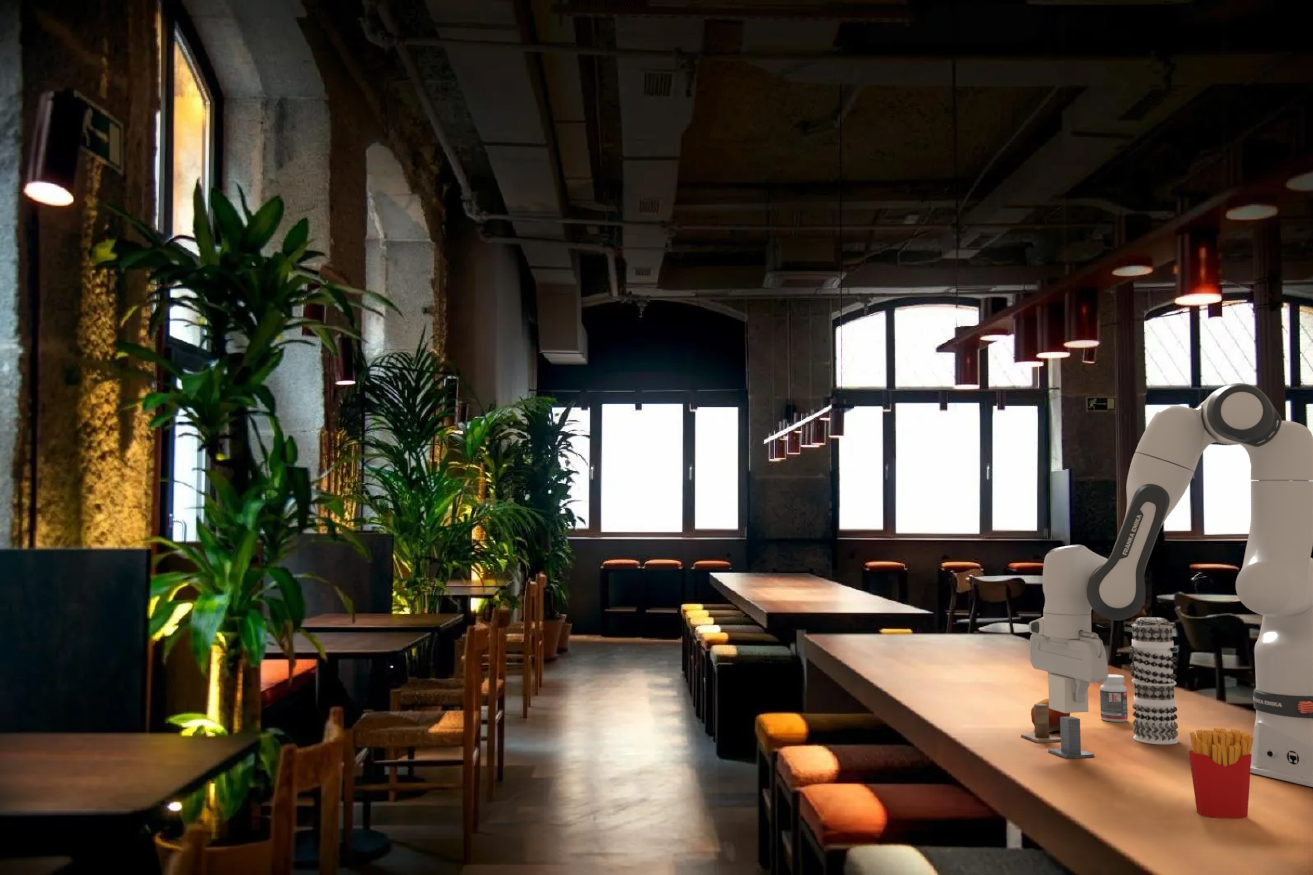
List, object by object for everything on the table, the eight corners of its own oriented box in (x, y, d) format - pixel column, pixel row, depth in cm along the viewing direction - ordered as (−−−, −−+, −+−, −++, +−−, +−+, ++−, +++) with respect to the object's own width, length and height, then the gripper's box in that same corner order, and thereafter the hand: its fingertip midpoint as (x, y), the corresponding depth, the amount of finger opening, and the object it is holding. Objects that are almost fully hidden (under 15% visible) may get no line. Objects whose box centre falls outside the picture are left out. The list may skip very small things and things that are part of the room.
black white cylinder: (1155, 734, 233) (1151, 615, 235) (1190, 742, 224) (1186, 619, 226) (1121, 737, 230) (1117, 617, 231) (1156, 746, 221) (1152, 621, 223)
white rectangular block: (1088, 712, 213) (1087, 677, 213) (1065, 713, 211) (1064, 678, 212) (1071, 707, 218) (1071, 673, 218) (1048, 708, 216) (1048, 674, 217)
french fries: (1198, 817, 170) (1195, 732, 171) (1187, 810, 174) (1184, 727, 175) (1260, 819, 169) (1257, 733, 170) (1248, 811, 173) (1244, 727, 174)
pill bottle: (1130, 723, 245) (1129, 678, 246) (1103, 722, 247) (1102, 677, 247) (1124, 718, 251) (1123, 674, 252) (1098, 717, 252) (1097, 673, 253)
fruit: (1051, 730, 230) (1039, 694, 235) (1033, 743, 236) (1020, 708, 241) (1084, 728, 232) (1071, 692, 237) (1065, 741, 238) (1052, 706, 243)
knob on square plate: (1063, 741, 226) (1062, 706, 227) (1037, 742, 225) (1037, 708, 225) (1046, 735, 232) (1045, 701, 232) (1021, 737, 230) (1020, 703, 231)
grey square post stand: (1094, 756, 212) (1093, 720, 212) (1066, 758, 210) (1065, 721, 211) (1074, 750, 218) (1073, 714, 218) (1048, 752, 216) (1047, 715, 217)
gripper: (1115, 633, 206) (1117, 708, 205) (1050, 622, 226) (1051, 689, 225) (1086, 634, 205) (1088, 709, 204) (1023, 622, 224) (1024, 691, 224)
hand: (1068, 699), depth 215 cm, fingers closed on white rectangular block, 5 cm apart
